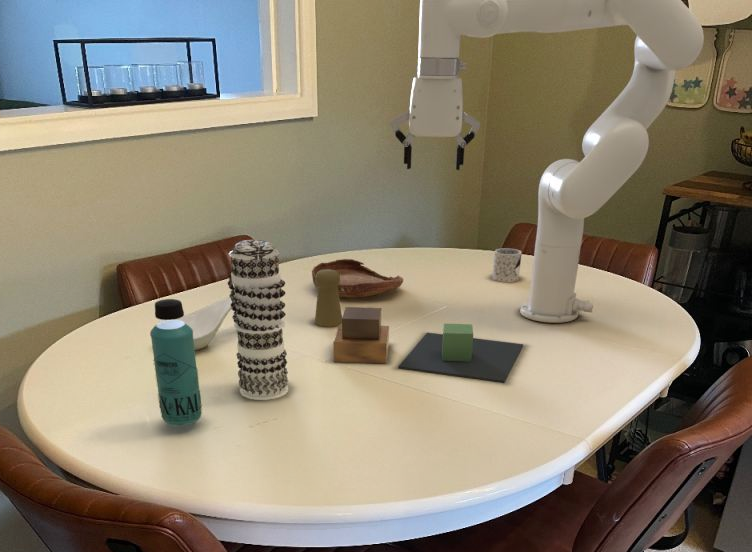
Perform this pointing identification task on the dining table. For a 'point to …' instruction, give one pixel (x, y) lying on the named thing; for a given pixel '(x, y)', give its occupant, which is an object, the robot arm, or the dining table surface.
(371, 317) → the walnut block
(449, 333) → the green block
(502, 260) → the mug
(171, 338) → the beverage bottle
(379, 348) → the oak block
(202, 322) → the spoon rest
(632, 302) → the dining table surface
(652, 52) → the robot arm
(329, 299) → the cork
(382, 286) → the wooden bowl
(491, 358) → the mat
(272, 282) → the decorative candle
